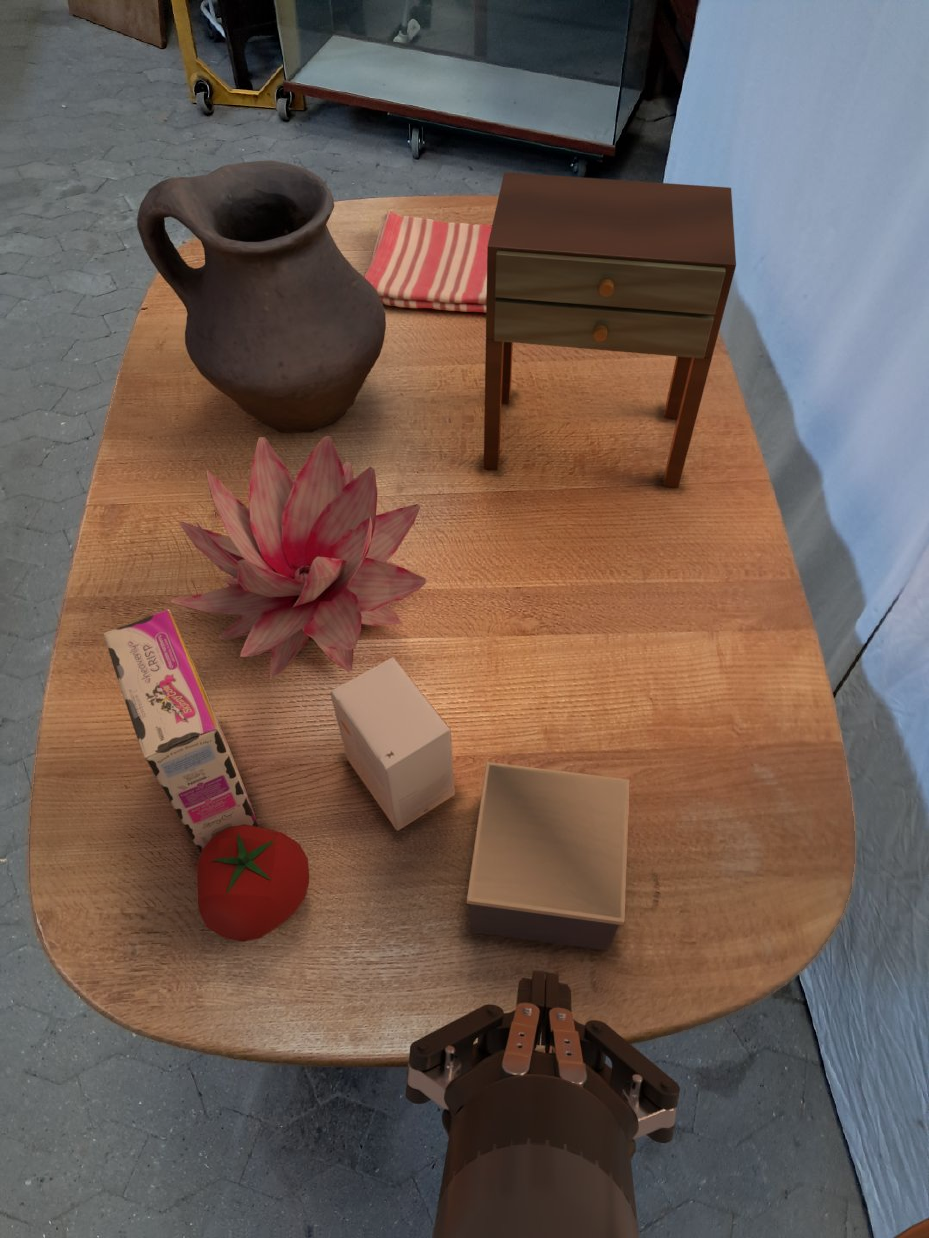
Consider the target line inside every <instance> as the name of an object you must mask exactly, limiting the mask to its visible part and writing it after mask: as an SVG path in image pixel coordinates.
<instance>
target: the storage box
mask: <svg viewBox="0 0 929 1238" xmlns="http://www.w3.org/2000/svg"><path fill="white" fill-rule="evenodd" d="M483 775H484V776H483V780H482V781H483V782H482V787H481V794H480V795H481V797H480V803H479V810H478V819H477V824H476V832H475V838H474V846H473V853H472V858H471V859H472V860H471V866H470V873H469V882H468V888H467V894H466V895H467V896H466V904H467V905H469V932H471V933H479V934H485V935H492V936H498V937H504V938H505V937H506V938H513V939H519V940H527V941H533V942H541V943H547V944H556V945H562V946H570V947H577V948H582V949H583V948H584V949H591V950H597V951H604V952H608V951H609V950H610V947H611V946H612V944H613V940H614V937H615V936H616V932H617V930H618V929H619V926H624V925H625V920H626V919H625V918H626V917H625V916H626V892H627V891H626V889H627V888H626V887H627V866H628V865H627V863H628V861H627V860H628V838H629V837H628V836H629V835H628V834H629V833H628V832H629V811H630V809H629V807H630V779H628V778H621V777H615V776H614V777H612V776H606V775H598V774H597V775H596V774H588V773H581V772H573V771H566V770H565V771H564V770H558V769H549V768H542V767H534V766H524V765H516V764H511V763H510V764H508V763H500V762H493V761H486V762H485V768H484V774H483Z"/></svg>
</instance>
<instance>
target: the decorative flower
mask: <svg viewBox="0 0 929 1238" xmlns="http://www.w3.org/2000/svg"><path fill="white" fill-rule="evenodd" d="M353 470H354V469H353V464H352V463H351V462H349V461H348V460H346V461H345V462H344V463H343V464H342V460H341V459H340V456H339V454H338V451H337V448H336V446H335V444H334V440H333V439H332V436H331V435H329V436H328V435H327V436H326V435H323V437H322V438H321V439H320V441H319V442H318V443H317V444H316V446H315V447H314V449H313V450H312V451H311V453H310V454H309V455H308V458H307V459H306V461H305V463H304V464H303V465H302V468H301V470H299V472H298V474H297V476H296V478H295V480H294V479H293V476H292V475H291V473H290V471H289V469H288V468H287V467H286V465H285V464H284V462H283V460H282V459H281V458H280V457H279V455H278V454H277V452H276V451H275V450H274V448H273V446H272V445H271V444H270V443H269V441H268V439H267V438H266V437H265V436H262V437H258V440H257V443H256V446H255V450H254V454H253V457H252V461H251V471H250V478H249V483H248V487H249V488H248V507H247V506H246V505H245V504H244V503H243V502H242V501H240V499H238V498H237V497H236V496H235V495H234V494H233V493H232V492H231V491H230V490H229V489H228V488H227V487H226V486H225V485H224V484H223V483H222V481H220V480H219V479H218V478H217V477H216V476H215V475H214V474H212V473H211V472H210V470H206V478H207V482H208V487H209V492H210V497H211V499H212V501H213V504H214V506H215V508H216V511H217V514H218V516H219V518H220V520H221V523H222V525H223V527H224V530H225V531H226V534H227V535H224V534H221V533H217V532H215V531H211V530H209V529H206V528H203V527H202V526H201V525H200V524H199V523H198V522H197V521H195V523H196V525H194V524H191V523H188V522H186V521H182V522H180V523H179V526H180V528H181V529H182V530H183V531H184V533H185V534H186V536H187V537H188V538H189V540H190V542H192V544H193V546H194V547H195V548H196V549H197V550H198V551H199V552H201V554H203V555H204V556H205V557H206V558H207V559H208V560H209V561H210V562H211V563H213V564H214V565H215V567H217V568H218V569H219V570H220V571H222V572H224V573H225V574H227V575H229V577H223V579H222V581H223V582H224V583H226V584H227V585H228V586H224V587H221V588H217V589H213V590H209V591H205V592H203V593H202V592H201V593H199V594H194V595H188V596H187V595H186V596H181V597H176V598H171V599H170V602H171V603H172V604H175V605H178V606H181V607H184V608H187V609H189V610H193V611H197V612H205V613H214V614H224V615H226V614H227V615H236V616H241V617H239V618H238V619H237V620H236V621H235V622H234V623H233V624H231V625H230V626H229V627H228V628H226V629H225V630H224V631H223V632H222V633H220V635H218V636H217V637H218V638H219V640H220V639H221V640H222V639H231V638H241V637H244V636H247V637H246V639H245V641H244V644H243V647H242V649H241V651H240V655H239V657H241V658H244V657H245V658H246V657H252V656H258V655H261V654H264V653H265V652H268V651H270V666H269V667H270V668H269V680H270V679H272V678H274V677H276V676H277V675H279V674H281V673H282V672H283V671H284V670H285V669H286V668H287V667H288V665H289V664H290V663H291V662H292V661H293V660H294V658H295V657H296V656H297V655H298V654H299V652H301V650H302V649H303V648H304V647H305V645H307V643H308V642H309V639H310V638H311V639H312V640H313V641H314V642H315V643H316V645H317V646H318V647H319V649H321V650H322V651H323V653H324V654H325V655H326V656H327V657H328V658H329V659H330V660H331V661H333V662H334V663H335V664H336V665H338V666H339V667H340V668H342V669H343V670H345V671H346V672H347V673H349V674H350V672H351V671H353V664H354V653H355V652H354V648H355V647H357V643H358V641H359V638H360V636H361V632H362V631H361V630H362V625H368V626H374V627H379V626H395V625H403V624H404V623H403V622H402V620H401V619H400V617H399V616H398V614H397V613H396V612H395V610H393V609H392V608H391V607H390V606H389V605H391V604H394V603H397V602H399V601H402V600H404V599H406V598H407V597H409V596H410V595H412V594H414V593H416V592H418V591H419V590H421V589H422V588H423V587H424V586H425V585H426V584H427V578H425V577H424V576H421V575H419V574H417V573H415V572H413V571H411V570H409V569H408V568H407V569H406V568H405V567H402V566H400V565H399V564H397V563H394V562H391V561H388V560H390V558H392V556H393V555H394V554H396V552H397V550H398V548H400V546H401V544H402V542H403V541H404V539H405V538H406V536H407V535H408V533H409V532H410V531H411V528H412V527H413V525H414V524H415V522H416V519H417V517H418V514H419V512H420V510H421V506H420V504H419V503H416V504H412V505H407V506H403V507H399V508H396V509H393V510H389V511H386V512H382V513H379V514H377V510H378V509H377V508H378V507H377V506H378V505H377V504H378V486H377V477H376V470H375V469H374V468H373V467H372V466H369V467H367V468H366V469H365V470H364V471H362V472H361V473H360V474H359V475H357V476H356V477H355V478H354V471H353Z"/></svg>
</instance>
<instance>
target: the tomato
mask: <svg viewBox="0 0 929 1238" xmlns="http://www.w3.org/2000/svg"><path fill="white" fill-rule="evenodd" d="M309 868H310V867H309V858H308V856H307V855H306V853H305V851H304V849H303V848H302V846H301V844H300V843H299V842H298V841H296V840H295V839H293V838H292V837H290V836H288V835H287V834H285V833H284V832H282V831H278V830H273V829H269V828H263V827H260V826H259V827H256V826H251V825H247V824H243V825H238V826H233V827H228V828H226V829H225V830H223V831H221V832H220V833H218V834H216V835H215V836H213V837H212V838H211V840H210V841H209V842H208V843H207V844H206V845H205V847H204V848H203V849H202V852H201V854H200V853H199V857H198V860H197V863H196V889H197V890H196V891H197V895H196V896H197V908H198V913H199V915H200V917H201V919H202V921H203V923H204V926H205V927H206V928H207V929H209V930H211V931H212V932H214V933H215V934H216V935H218V936H220V937H222V938H224V939H226V940H229V941H230V940H231V941H235V942H242V943H244V942H248V941H253V940H257V939H262V938H263V937H264V936H267V934H269V933H270V932H272V931H274V930H275V929H277V928H278V927H280V926H281V925H282V924H284V923H285V922H286V921H288V920H289V918H291V916H293V915H294V914H295V913H296V912H297V911H298V909H299V908H300V906H301V905H302V903H303V902H304V901H305V899H306V896H307V891H308V889H309V886H310V869H309Z"/></svg>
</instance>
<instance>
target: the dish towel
mask: <svg viewBox="0 0 929 1238" xmlns="http://www.w3.org/2000/svg"><path fill="white" fill-rule="evenodd" d="M491 229H492V224H481V223H480V224H475V223H473V224H471V223H467V222H455V221H450V222H443V221H438V220H435V219H433V218H424V217H419V216H418V217H415V216H409V215H403V216H401V215H398V214H397V213H396V212H394V211H391V210H388V211H387V213H386V214H384V215H383V216H382V218H381V222H380V226H379V230H378V234H377V237H376V241H375V245H374V250H373V253H372V257H371V260H370V264H369V267H368V269H367V270H366V272H365V274H364V275H363V277H365V278H366V279H367V280H368V281H369V282H370V283H371V284H372V285H373V287H374V288H375V290H376V291H377V292H378V295H379V297H380V299H381V301H382V304H384V305H386V306H392V307H393V306H394V307H398V308H410V309H434V310H440V311H441V310H443V311H451V312H464V313H467V312H469V313H470V312H472V313H484V314H486V299H487V246H488V242H489V237H490V233H491Z"/></svg>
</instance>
